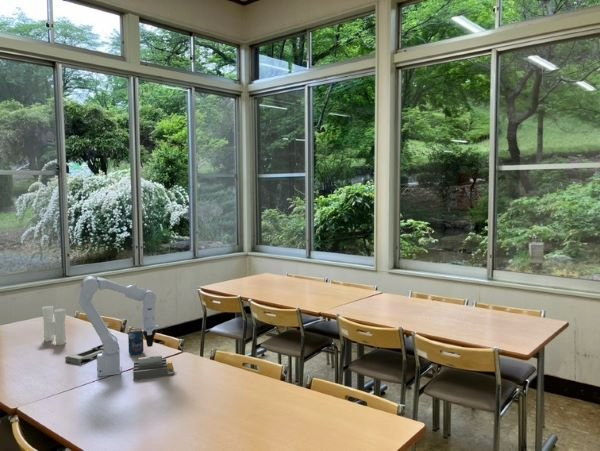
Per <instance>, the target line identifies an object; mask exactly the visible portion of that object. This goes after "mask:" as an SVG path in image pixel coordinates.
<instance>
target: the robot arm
mask: <svg viewBox="0 0 600 451" xmlns="http://www.w3.org/2000/svg"><path fill="white" fill-rule="evenodd" d="M98 290H99V291H103V290H110V291H113V292H118V293H121V294H124V296H125V297H126V298H128V299H131V300H135V301H138V302H142V308H141V309H142V311H141V312H142V315H141V316H142V328H141V329H142V332H143V337H144V339H145V341H146V347H147V348H149V347H153V345H154V339H155V335H156V333H157V329H158V328H159V327H160V326H159V324H157V321H156V320H157V317H156V313H157V312H156V309H157V308H156V301H157V297H156V294H155V293H154V291H152V290H150V289H148V288H142V287H139V286H137V284H130V285H128V286H126V285H124V284H120V283H119V282H118V283H117V282H115V281H113V280H109V279H108V278H107V279H106V278H103V277H100V276H95V275H88V276H85V277H84V279H83V280H82V282H81V284H80V289H79V296H78V304H79V305H80V307H81V309H82V310H83V312H84V314H85V315H86V317H87V319H88V321H89V322H90V324H91V325H92V327H93V328H94V331H95V332H96V334H97V336H98V337H99V339H100V342H101V343H102V344H103V349H104V350H103V351H102V353H100V354H97V358H96V371H97V374H96V375H97V377H106V376H107V377H108V376H113V375H120V374H122V366H121V359H120V358H121V356H120V353H121V352H120V346H119V342H118V341H119V340H118V338H117V336H116V335H114V334H112V332H111V331H110V330H109V328H108V327H107V324H106V322H105V321H104V320H103V318H102V316H101V314H100V313H99V311H98V310H97V308H96V306H95V304H94V303H93V300H92V299H93V297H94V295H95V294H96V293H97V291H98ZM102 344H101V345H102Z"/></svg>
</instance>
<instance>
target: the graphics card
mask: <svg viewBox="0 0 600 451" xmlns="http://www.w3.org/2000/svg"><path fill="white" fill-rule="evenodd" d="M103 350H104V349H103V344H100V345H97V346H94V347H92V348H90V349H87V350H83V351H81V352H78V353H74V354H70V355H68V356H65V357H64V358H65V360H64V361H65V362H64V363H71V364H76V365H80V366H83V364H85V363H88V362H91V361H93V360H95V359H96V360H97V354H100V353H102V351H103Z"/></svg>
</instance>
